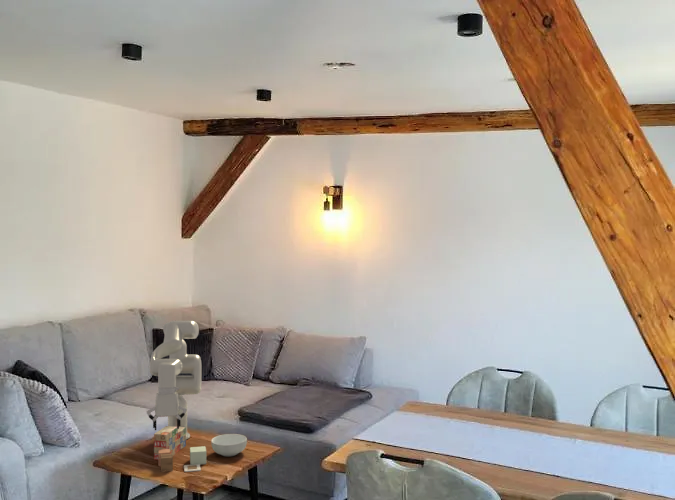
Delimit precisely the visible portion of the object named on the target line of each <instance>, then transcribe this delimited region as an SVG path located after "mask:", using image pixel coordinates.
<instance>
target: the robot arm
mask: <svg viewBox="0 0 675 500" xmlns="http://www.w3.org/2000/svg"><path fill="white" fill-rule="evenodd" d="M162 327H163V334H164V338H163V342H162V343H161V344H159V345H158V346H157V347H156V348H155V349H154V350H153V351H152V353H151V356H150V362H149V372H150V374H151V375H152V376H155V377H158V378H157V379H158V380H157V382H158V383H157V387H158V388H157V389H158V390H157V393H156V394H155V401H154V406H153V407H151V408H149V409H148V410H146V414H147V416H148V418H149V419H150V420H152V425H153V426H152V429H154V431H157V420H158V419H159V418H162V417H163V418H164V417H165V418H166V417H167V426H173V427H177V429H179V427H186V440H188V439H190V437H191V434H190V432H188V402H187V400H186V398H185V397H184V396H185V395H187V396H188V395H199V394H200V393H201V391H202V383H203V382H202V369H203V368H202V367H203V366H202V360H201V358H202V357H201V356H200V355H198V354H196V353H195V354H193V353H192V354H188V353H187V351H188V350H187V347H188V346H187V343H186V341H185V340H186V339H187V340H189V339H192V340H193V339H194V340H195V339H197V337H198V336H199V333H200V328H199V327H200V326H199V324H198V323H197V322H196V321H194V320H171V321H169V322H166V323H164V324H163V326H162ZM168 356H169V357H168ZM165 357H168V358H165ZM180 374H191V375H180ZM153 412H154V414H155V415H152V413H153Z"/></svg>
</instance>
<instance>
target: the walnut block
mask: <svg viewBox="0 0 675 500" xmlns="http://www.w3.org/2000/svg"><path fill="white" fill-rule="evenodd" d="M173 457H174V455H172V454H161V466H160V472H161V473H162V472H173V471H174V470H173V465H174V464H173V463H174V461H173Z"/></svg>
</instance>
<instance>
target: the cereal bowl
mask: <svg viewBox="0 0 675 500" xmlns="http://www.w3.org/2000/svg"><path fill="white" fill-rule="evenodd" d="M247 443H248V439H247V437H246V435H243V434H239V433H238V434H237V433H225V434H220V435H217V436H214V437H212V438H211V443H210V444H211V447H212V451H214V452H215V453H216V454H218V455H221V456H223V457H234V456H236V455H238V454H239V453H242V452H243V451H244V450H245V449H246V447H247Z"/></svg>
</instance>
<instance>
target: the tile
mask: <svg viewBox="0 0 675 500" xmlns="http://www.w3.org/2000/svg"><path fill="white" fill-rule="evenodd" d="M183 469H184V471H183V472H184V473H188V472H201V471H202V469H201V464H195V465H190V464H185V465H183Z"/></svg>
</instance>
